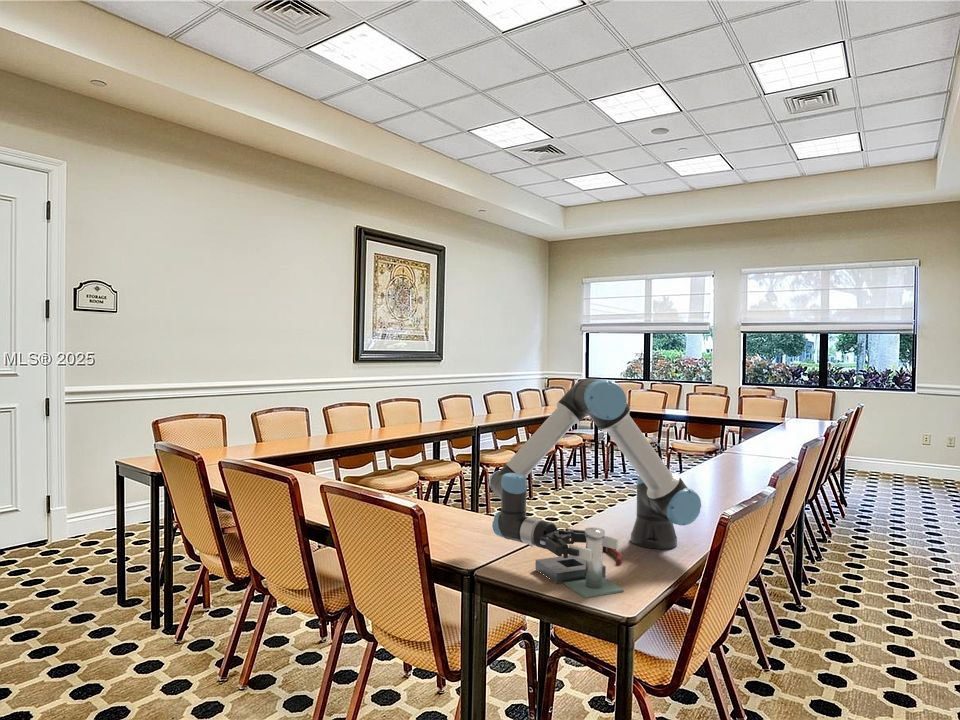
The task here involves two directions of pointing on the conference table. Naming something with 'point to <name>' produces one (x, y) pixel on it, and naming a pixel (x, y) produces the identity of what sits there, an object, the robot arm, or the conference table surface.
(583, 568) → the socket plate
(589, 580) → the steel pin
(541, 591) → the conference table surface
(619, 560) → the pliers
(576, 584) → the rubber mat
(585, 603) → the conference table surface
